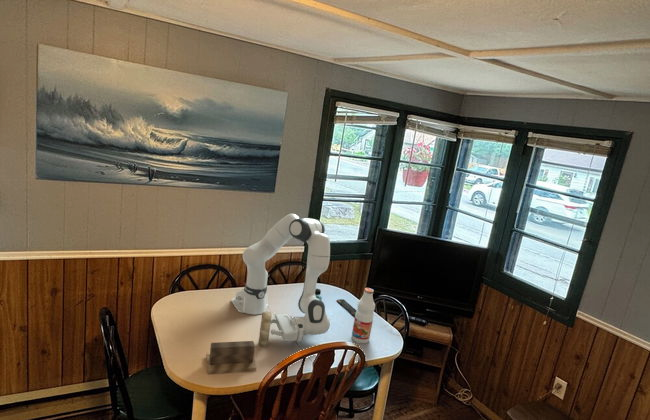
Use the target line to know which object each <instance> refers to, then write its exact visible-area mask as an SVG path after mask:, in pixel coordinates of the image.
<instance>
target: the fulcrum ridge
mask: <svg viewBox="0 0 650 420" xmlns="http://www.w3.org/2000/svg"><path fill="white" fill-rule="evenodd" d="M255 347H256V346H255V342H254V340H246V341H245V340H244V341H243V340H242V341H222V342H218V341H217V342H211V343H210V349H209V354H208V353H207V354H206V355H205V358H206V359H205V360H206V369H207V370H208V371H207V374H208V375H213V374H214V375H215V374H217V373H218V374H227V373H228V374H230V373H231V374H232V373H243V372H245V373H247V372H257V365H256V360H255V358H254V355H255V349H256V348H255Z"/></svg>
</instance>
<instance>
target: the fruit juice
mask: <svg viewBox="0 0 650 420" xmlns="http://www.w3.org/2000/svg"><path fill="white" fill-rule="evenodd" d="M374 292H375V291H374V289H373V288H372V287H371V288H370V287H365V288H364V290H363V294H362V297H361V298H360V299H358V302H357V308H356V309H357V311H356V314H355V317H354V320H353V326H352V330H351V331H352V332H351V339H352V341H354V342H355V343H358V344H367V343H368V342H369V341H370V337H371V333H372V328H373V323H374V312H375V309H376V304H375V302H374V297H373V294H374Z"/></svg>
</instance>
